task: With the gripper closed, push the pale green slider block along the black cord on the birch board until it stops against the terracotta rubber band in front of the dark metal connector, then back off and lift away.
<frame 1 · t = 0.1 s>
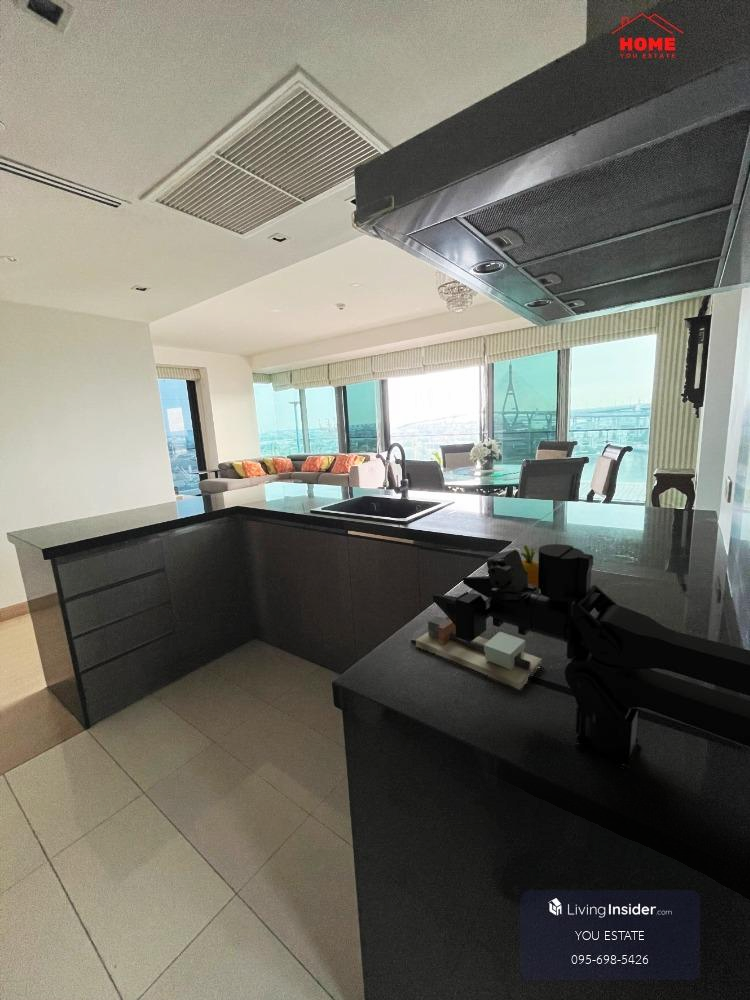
hand: (449, 588, 71), 17 cm above the countertop, tool horizontal, fingers open, 9 cm apart
carrot: (527, 607, 99), on the countertop
pale green slider block: (504, 650, 75), point 3 cm above the countertop, slide at 0.0 cm
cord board: (475, 655, 80), on the countertop
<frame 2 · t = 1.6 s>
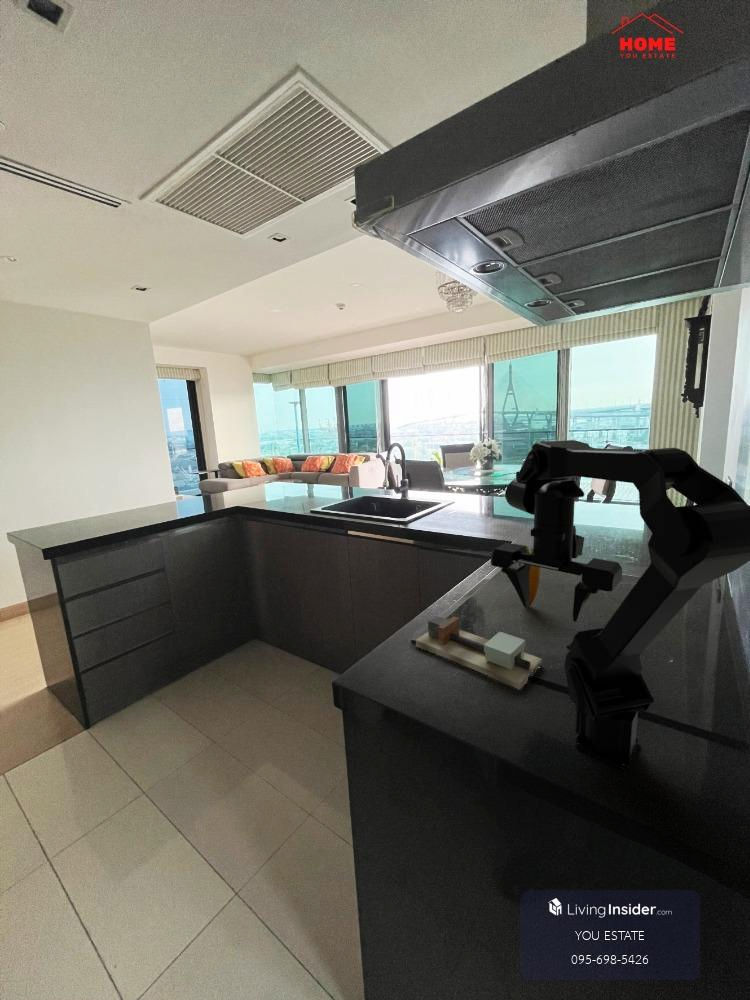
hand: (550, 613, 68), 13 cm above the countertop, tool pointing down, fingers open, 8 cm apart
nothing on the countertop moved.
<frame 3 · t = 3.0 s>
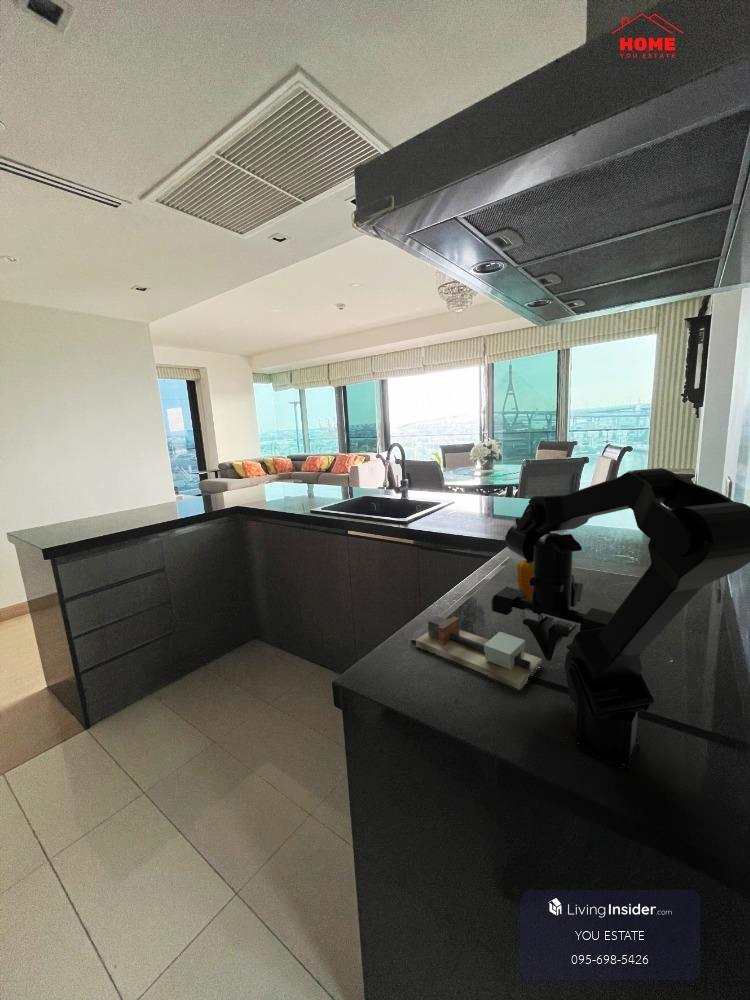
hand: (549, 659, 69), 5 cm above the countertop, tool pointing down, fingers closed
nothing on the countertop moved.
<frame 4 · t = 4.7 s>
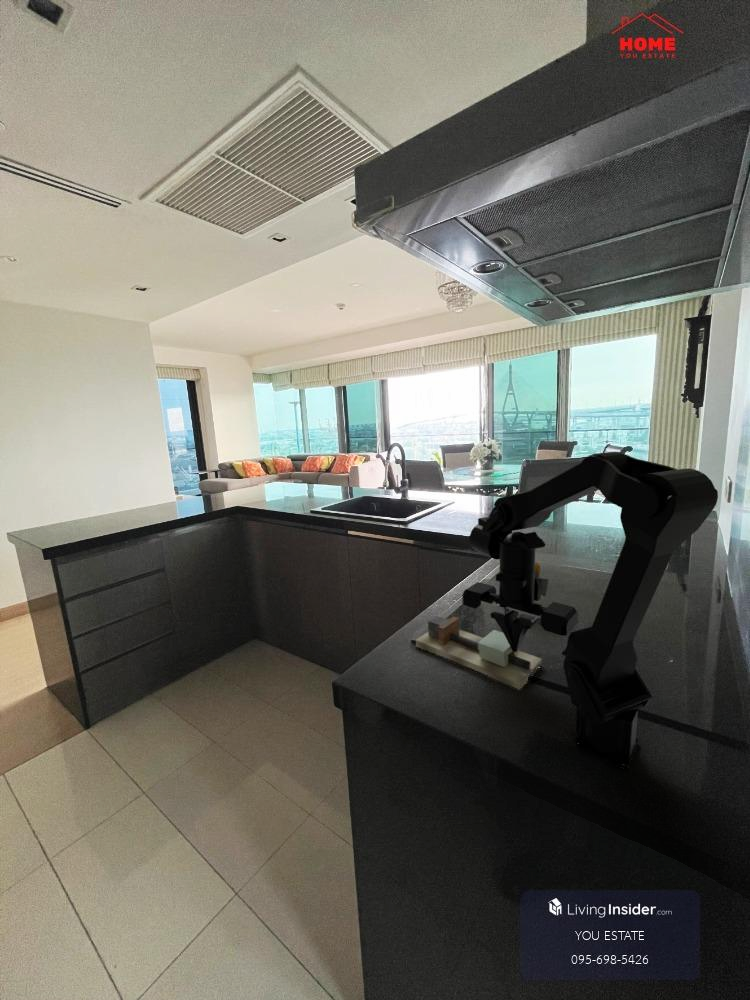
hand: (515, 650, 74), 4 cm above the countertop, tool pointing down, fingers closed
pale green slider block: (498, 648, 76), point 3 cm above the countertop, slide at 1.2 cm, touching gripper
everything else where it was.
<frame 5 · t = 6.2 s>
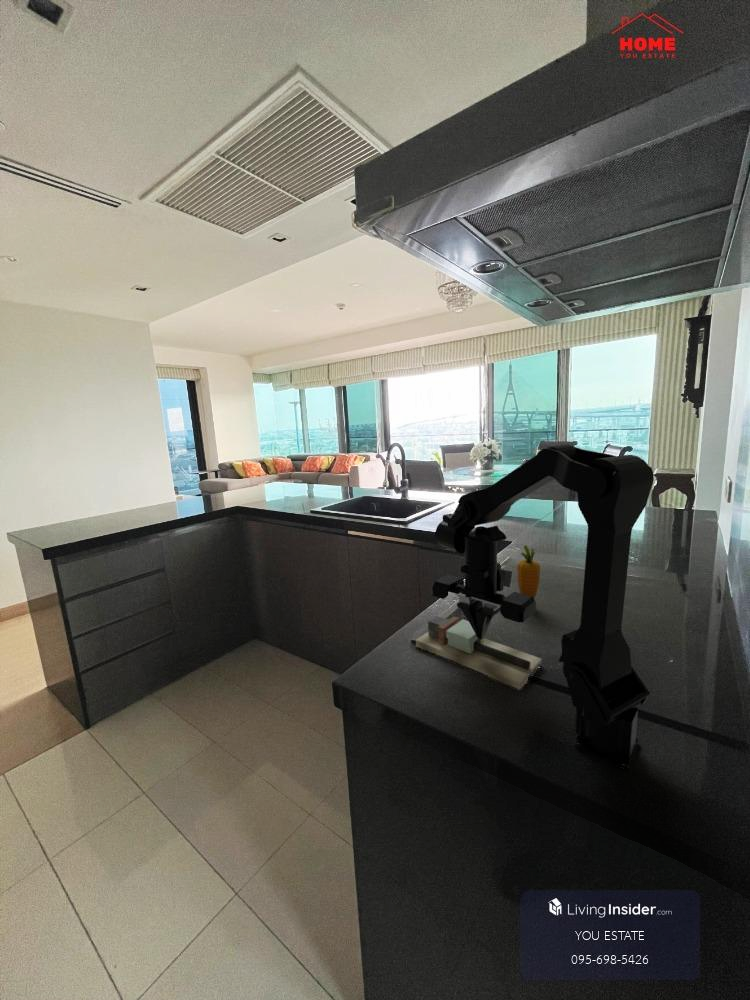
hand: (481, 638, 78), 4 cm above the countertop, tool pointing down, fingers closed
pale green slider block: (465, 636, 81), point 3 cm above the countertop, slide at 8.1 cm, touching gripper
everything else where it was.
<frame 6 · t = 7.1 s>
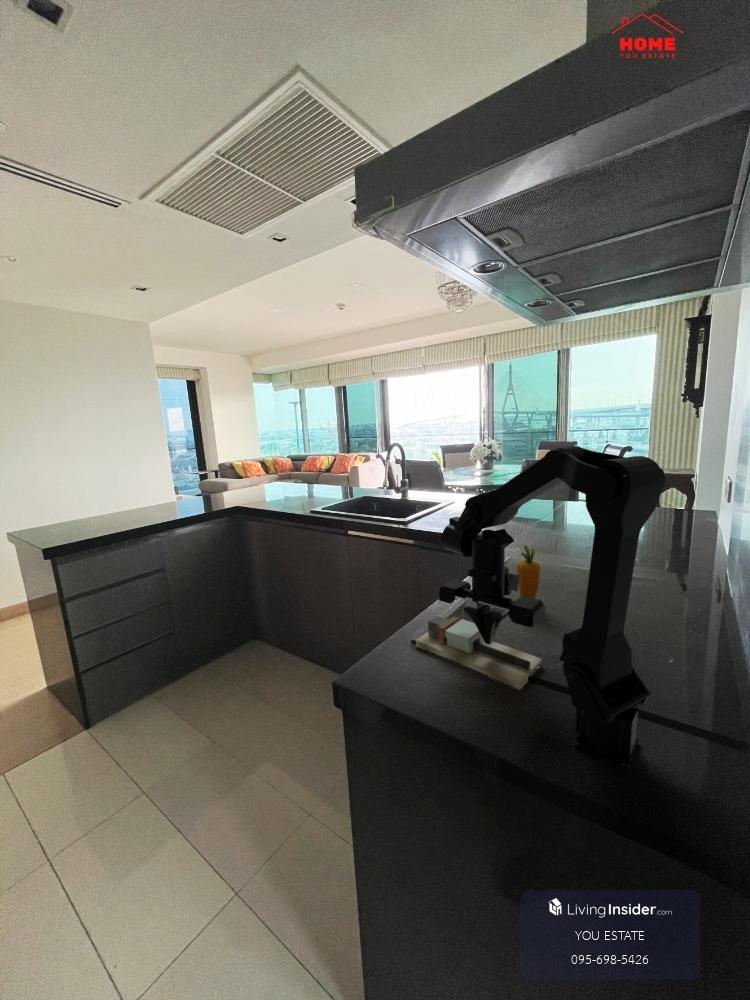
hand: (488, 643, 77), 4 cm above the countertop, tool pointing down, fingers closed
pale green slider block: (465, 636, 81), point 3 cm above the countertop, slide at 8.3 cm
everything else where it was.
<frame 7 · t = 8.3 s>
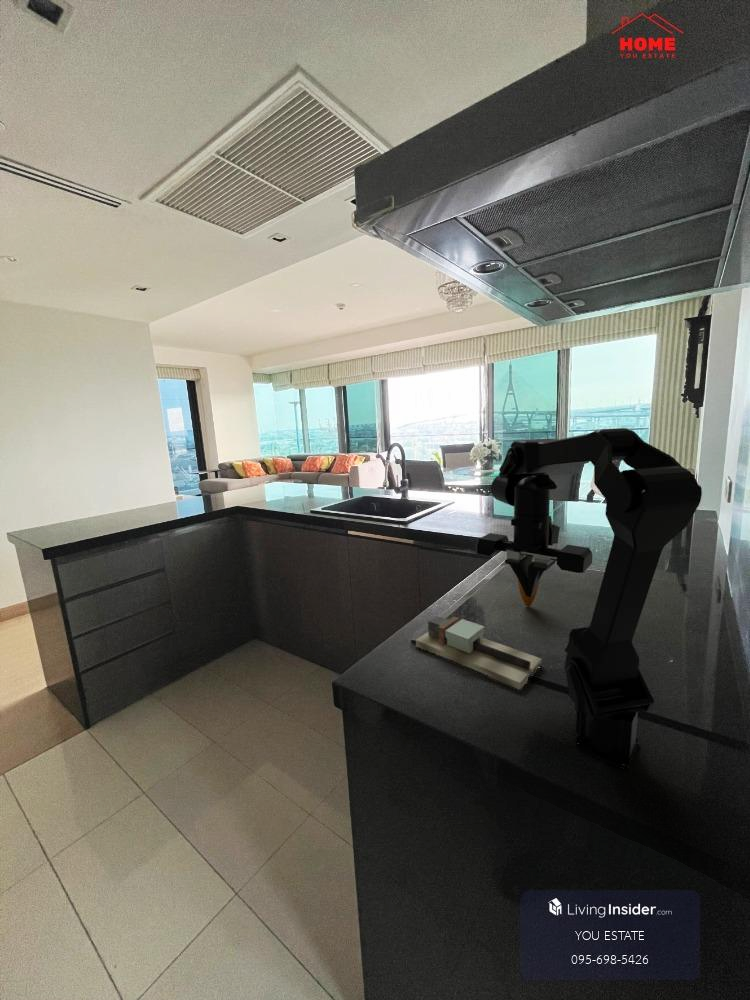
hand: (529, 596, 75), 13 cm above the countertop, tool pointing down, fingers closed
nothing on the countertop moved.
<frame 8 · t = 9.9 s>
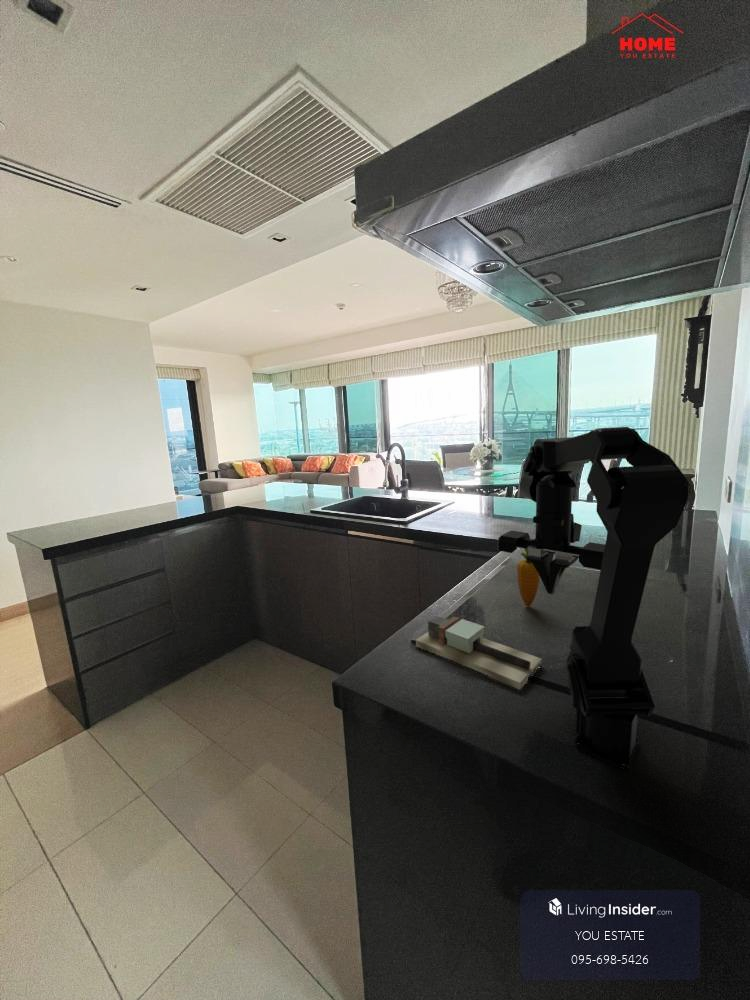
hand: (551, 593, 75), 13 cm above the countertop, tool pointing down, fingers closed
nothing on the countertop moved.
at the end: pale green slider block slide at 8.3 cm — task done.
